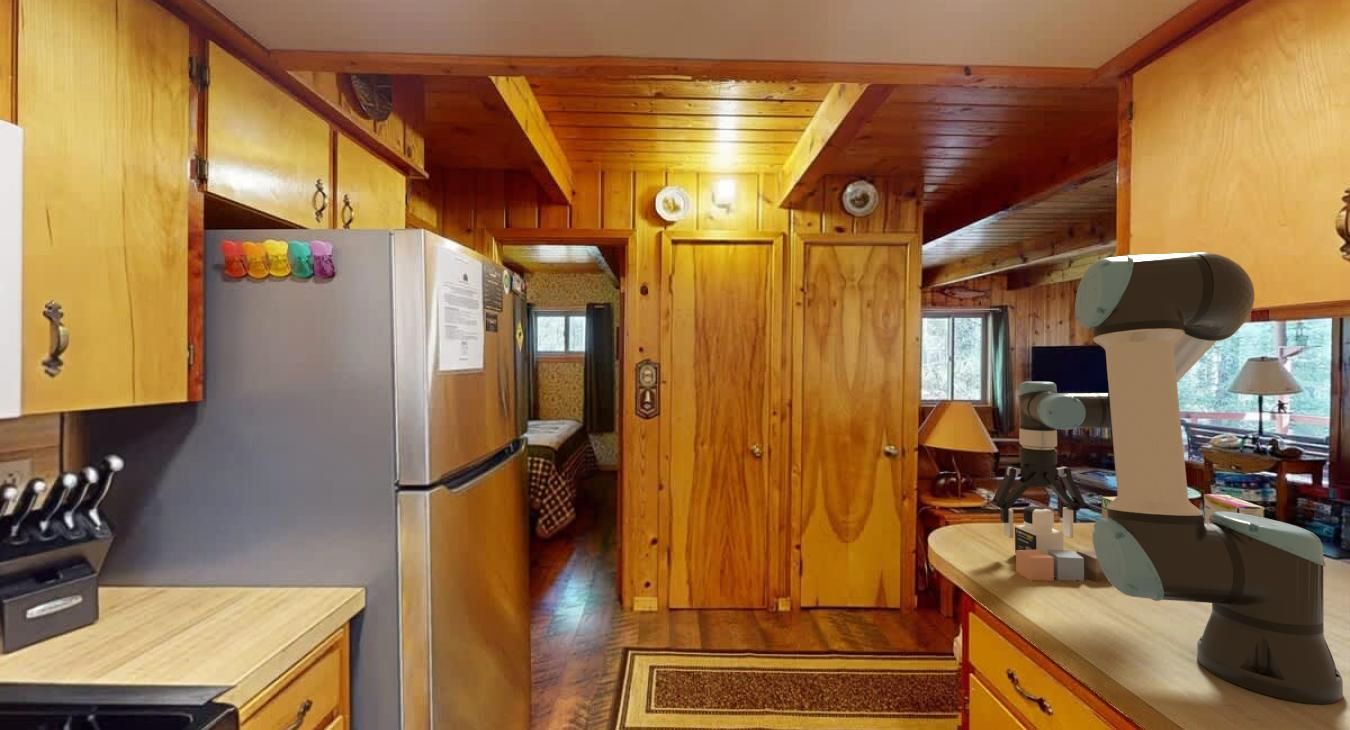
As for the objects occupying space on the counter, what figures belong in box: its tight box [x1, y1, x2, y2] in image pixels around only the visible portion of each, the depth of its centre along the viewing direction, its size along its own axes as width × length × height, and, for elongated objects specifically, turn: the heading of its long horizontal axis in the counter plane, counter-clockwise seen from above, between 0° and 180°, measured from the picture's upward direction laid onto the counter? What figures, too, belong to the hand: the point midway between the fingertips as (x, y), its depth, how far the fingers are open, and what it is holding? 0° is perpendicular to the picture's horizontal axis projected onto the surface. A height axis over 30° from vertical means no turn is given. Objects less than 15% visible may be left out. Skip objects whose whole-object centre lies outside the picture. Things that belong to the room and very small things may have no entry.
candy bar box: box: [1203, 493, 1266, 523], centre depth 124 cm, size 11×5×16 cm, turn 167°
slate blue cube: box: [1048, 549, 1085, 582], centre depth 125 cm, size 5×5×5 cm
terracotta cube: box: [1015, 550, 1055, 581], centre depth 126 cm, size 5×5×5 cm
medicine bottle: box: [1014, 505, 1065, 555], centre depth 136 cm, size 7×7×12 cm
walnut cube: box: [1076, 549, 1108, 582], centre depth 125 cm, size 5×5×5 cm
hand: (1038, 536), depth 136 cm, fingers open, 13 cm apart
